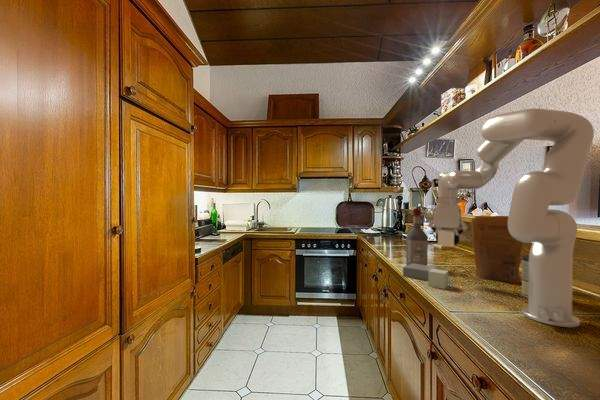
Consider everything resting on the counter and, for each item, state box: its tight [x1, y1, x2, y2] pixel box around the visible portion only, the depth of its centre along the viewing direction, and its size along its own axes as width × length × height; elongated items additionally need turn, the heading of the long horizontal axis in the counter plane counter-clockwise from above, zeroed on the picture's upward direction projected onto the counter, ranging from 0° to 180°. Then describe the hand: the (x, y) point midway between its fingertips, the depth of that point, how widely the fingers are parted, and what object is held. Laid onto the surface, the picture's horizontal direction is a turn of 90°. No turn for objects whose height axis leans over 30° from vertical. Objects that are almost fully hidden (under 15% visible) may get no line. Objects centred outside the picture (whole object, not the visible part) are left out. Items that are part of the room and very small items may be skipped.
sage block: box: [427, 268, 449, 290], centre depth 113 cm, size 6×6×6 cm
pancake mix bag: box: [470, 215, 524, 284], centre depth 123 cm, size 7×19×28 cm, turn 50°
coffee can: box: [520, 254, 529, 299], centre depth 100 cm, size 10×10×14 cm
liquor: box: [405, 208, 429, 266], centre depth 144 cm, size 9×9×30 cm
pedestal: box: [402, 263, 440, 282], centre depth 128 cm, size 12×12×4 cm
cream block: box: [437, 229, 457, 248], centre depth 120 cm, size 6×6×6 cm
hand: (447, 243), depth 120 cm, fingers closed on cream block, 6 cm apart
